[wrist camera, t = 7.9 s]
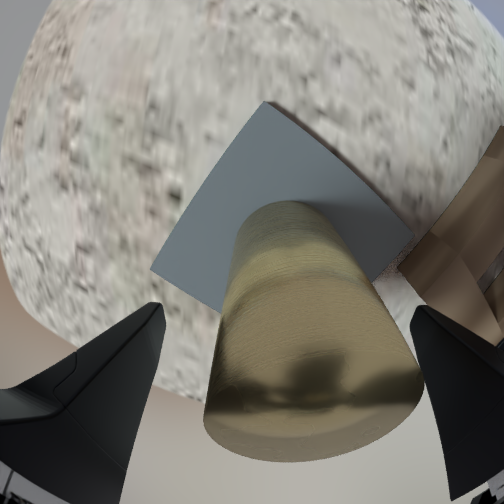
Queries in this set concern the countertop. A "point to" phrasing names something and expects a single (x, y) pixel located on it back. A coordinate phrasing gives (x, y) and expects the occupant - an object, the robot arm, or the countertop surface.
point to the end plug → (304, 345)
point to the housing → (466, 251)
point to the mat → (268, 191)
